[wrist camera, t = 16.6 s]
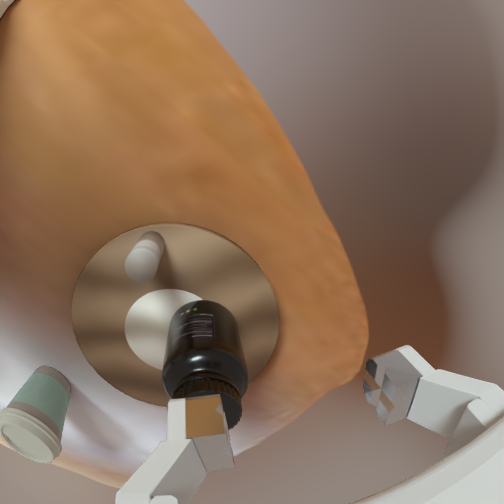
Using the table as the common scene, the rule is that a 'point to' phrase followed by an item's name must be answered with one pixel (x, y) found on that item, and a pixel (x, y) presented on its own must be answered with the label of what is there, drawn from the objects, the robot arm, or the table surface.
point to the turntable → (166, 302)
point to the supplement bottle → (206, 357)
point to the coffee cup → (37, 416)
